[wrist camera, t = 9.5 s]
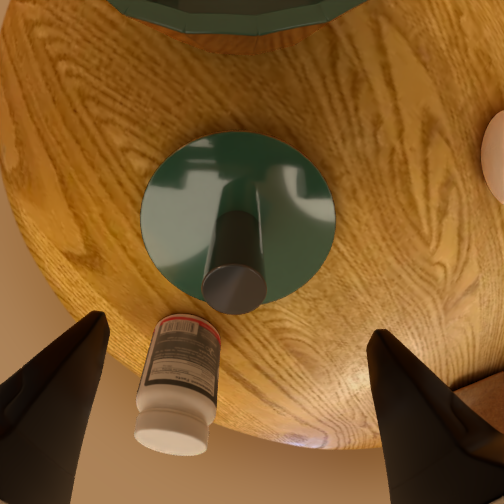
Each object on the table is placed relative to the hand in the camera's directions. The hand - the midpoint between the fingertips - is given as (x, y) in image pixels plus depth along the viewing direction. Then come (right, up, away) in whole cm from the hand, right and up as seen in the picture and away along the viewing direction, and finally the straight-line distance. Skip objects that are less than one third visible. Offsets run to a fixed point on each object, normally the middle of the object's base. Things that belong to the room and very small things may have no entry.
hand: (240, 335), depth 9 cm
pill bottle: (-4, -3, +11) cm, 12 cm away
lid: (0, +4, +6) cm, 7 cm away
